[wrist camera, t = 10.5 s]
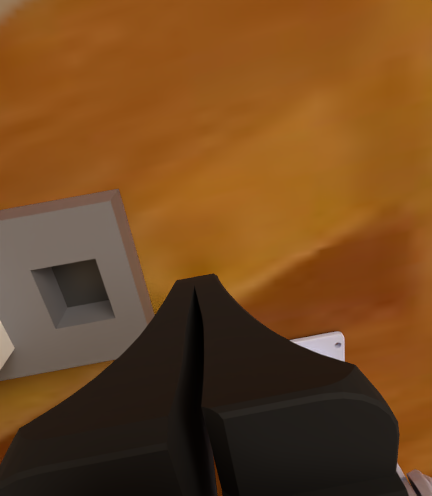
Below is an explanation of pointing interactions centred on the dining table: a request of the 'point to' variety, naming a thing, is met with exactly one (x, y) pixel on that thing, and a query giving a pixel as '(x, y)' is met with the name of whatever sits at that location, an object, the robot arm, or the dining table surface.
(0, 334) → the plug
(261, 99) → the dining table surface
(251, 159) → the dining table surface
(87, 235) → the socket plate
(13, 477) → the robot arm
